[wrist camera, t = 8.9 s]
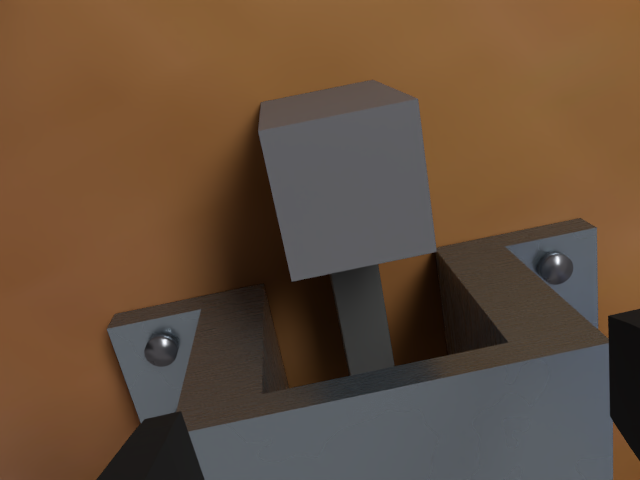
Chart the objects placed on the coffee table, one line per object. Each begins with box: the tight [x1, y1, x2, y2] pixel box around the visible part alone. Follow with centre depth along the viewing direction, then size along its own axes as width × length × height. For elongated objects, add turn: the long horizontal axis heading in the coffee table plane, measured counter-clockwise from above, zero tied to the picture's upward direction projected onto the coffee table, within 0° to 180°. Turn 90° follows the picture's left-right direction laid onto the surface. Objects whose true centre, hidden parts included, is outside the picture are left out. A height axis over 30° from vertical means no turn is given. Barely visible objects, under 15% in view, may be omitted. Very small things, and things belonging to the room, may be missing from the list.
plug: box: [258, 80, 437, 376], centre depth 17 cm, size 17×3×5 cm, turn 11°
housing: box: [107, 218, 613, 480], centre depth 16 cm, size 5×16×7 cm, turn 101°
